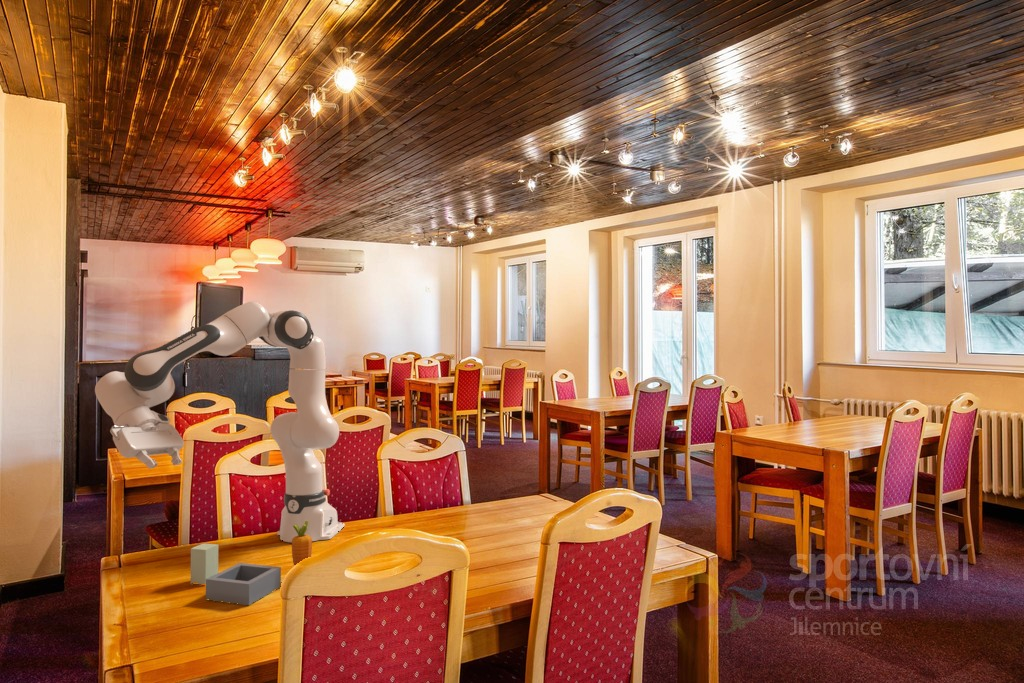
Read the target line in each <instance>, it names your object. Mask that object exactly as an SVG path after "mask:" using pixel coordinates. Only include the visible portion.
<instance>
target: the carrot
mask: <svg viewBox="0 0 1024 683" xmlns="http://www.w3.org/2000/svg"><path fill="white" fill-rule="evenodd" d="M307 526H308V521H307V520H306V521H305V524H303V526H302V528H300V529H299V526H298V525H297V524H296V525H293V527H294V529H295V530H296V532H297V534H298V535H297V536H295V537H294V538H293V539H292V542H291V553H292V554H291V555H292V562H293V563H292V564H293V566H294V565H296V564H297V563H299V562H300V561H302V560H303V559H305V558H308V557H311V558H312V551H313V550H312V547H313V541H312V538H311V537H310V536H309V535H307V534H305V532H306V530H307V529H308V528H307Z"/></svg>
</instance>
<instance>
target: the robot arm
mask: <svg viewBox="0 0 1024 683" xmlns="http://www.w3.org/2000/svg"><path fill="white" fill-rule="evenodd" d="M258 338H259V339H260V340H261V341H263V343H265V344H267V345H269V346H270V347H274V348H278V347H279V348H286V349H287V351H288V353H289V359H290V360H289V361H290V362H289V372H288V373H289V376H288V388H287V390H288V395H289V397H290V398H291V399H292V400H293V401H294V404H295V407H296V412H295V411H291V412H285V413H282V414H278V415H277V416H276V417H275V418H274V419H273V420H272V422H271V425H270V436H271V438H272V439H273V440H274V441H275V443H276V444H277V446H278V448H279V451H280V454H281V456H282V459H283V463H284V469H285V492H284V496H283V504H284V507H283V508H282V510H281V517H280V518H281V519H280V526H279V530H277V534H276V535H277V536H278V535H280V536H279V539H280V540H281V541H282V540H283V541H282V542H286V543H292V539H293V538H294V537H295V536H297V535H298V534H297V532H296V530H295V529H294V527H293V525H296V524H297V525H298V526H299V529H300V528H302V526H303V524H305V521H306V520H307V521H308V526H307V528H308V529H307V530H306V532H305V534H307V535H309V536H310V537H311V538H312V542H316V541H325V540H330V539H332V538H333V537H335V536H336V535H337V534H338V533H339V532H340V531H342V530H343V529H344V528H345V527H346V525H345V523H344V522H341V521H338V511H337V509H336V508H335V507H333V506H332V505H331V504H330V503H328V501H326V500H327V498H326V496H330V494H331V490H330V489H328V488H327V489H325V488H323V466H322V465H323V464H322V463H321V462H320V461H319V460H318V458H317V457H316V455H315V453H314V451H317V450H325V449H330V448H331V447H333V446H335V444H336V443H337V441H338V439H339V436H340V427H339V424H338V422H337V420H335V418H334V416H332V414H331V411H330V409H329V406H328V402H327V396H326V372H327V371H326V369H327V358H326V348H325V343H324V340H323V339H322V338H320V337H319V336H318V335H314V331H313V329H312V326H311V323H310V321H309V319H308V318H307V316H306V315H305V314H303V313H302V312H299V311H297V310H281V311H277V312H273V313H270V312H269V311H268V310H267V308H266V307H264V305H262V304H260V303H259V302H257V301H247V302H245V303H243V304H241V305H238V306H236V307H234V308H232V309H230V310H228V311H226V312H225V313H224V314H222V315H220V316H219V317H217V318H216V319H214V320H212V321H210V322H208V323H206V324H203V325H200V326H197V327H195V328H193V329H191V330H189V331H188V332H185V333H184V334H181V335H180V336H178V337H175V338H174V339H172V340H171V341H168V342H167V343H164V344H163V345H161V346H159V347H156V348H152V349H148V350H145V351H141V352H139V353H137V354H134V355H133V356H131V358H130V359H128V360H127V362H126V365H125V366H124V371H123V372H122V371H117V370H115V371H111V372H108V373H106V374H105V375H103V376H102V377H101V378H100V379H98V381H97V382H96V384H95V386H94V387H95V388H94V394H95V396H96V398H97V400H98V402H99V404H100V405H101V408H102V409H103V410H104V412H105V414H106V415H108V416H109V417H111V419H112V422H113V424H114V425H112V426H111V428H110V430H109V432H110V434H111V435H112V441H113V443H114V445H115V447H116V449H117V451H118V453H119V454H120V455H121V456H122V457H124V458H126V459H129V458H136V459H137V460H138V461H140V462H141V463H142V464H144V465H145V466H146V467H147V468H148V469H154V468H155V467H157V466H158V462H157V461H156V460H155V458H152V457H150V456H158V455H168V456H171V460H170V463H172V465H173V466H179V465H180V464H181V463H182V462H183V459H181V457H180V451H181V449H182V448H183V447H184V446H185V442H184V439H183V437H182V435H181V434H180V433H179V431H178V430H177V429H176V427H175V426H174V425H172V424H170V423H171V418H169V417H168V415H164V414H162V413H161V414H160V413H158V412H156V411H154V410H151V408H153V407H155V406H158V405H160V404H162V403H165V402H167V401H169V400H170V398H171V397H172V396H173V395H174V394H175V391H176V390H175V389H176V384H175V381H174V378H173V376H172V374H171V372H172V370H173V369H174V368H175V367H176V366H178V365H180V364H181V363H183V362H185V361H187V360H188V359H190V358H191V357H194V356H195V355H197V354H199V353H202V352H210V353H212V354H214V355H217V356H222V357H227V356H230V355H233V354H235V353H237V352H239V351H240V350H241V349H243V348H244V347H246V346H247V345H248V344H250V343H251V342H253V341H254V340H256V339H258ZM342 523H343V524H342ZM344 526H345V527H344ZM343 527H344V528H343ZM342 528H343V529H342ZM341 529H342V530H341ZM338 531H339V532H338Z"/></svg>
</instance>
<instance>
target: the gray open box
mask: <svg viewBox="0 0 1024 683" xmlns="http://www.w3.org/2000/svg"><path fill="white" fill-rule="evenodd" d="M281 576H282V567H281V566H273V565H265V564H264V565H263V564H255V563H254V564H253V563H244V562H238V563H237V564H234V565H232V566H231V567H229V568H226V569H224V570H222V571H219V572H218V574H216V575H213V576H211V577H209V578H207V579H206V586H205V600H206V599H209V600H215V601H223V602H230V603H238V604H244V605H243V606H246V605H250V604H251V605H253V604H254V603H253V602H255V601H257V600H258V601H260V600H261V599H260V598H262V597H263V598H265V597H267V596H268V595H270V594H271V593H270V592H272V591H274V590H275V589H277V588H279V589H280V588H281V587H280V584H281V585H282V583H281V581H282V577H281ZM277 590H278V589H277ZM275 591H276V590H275ZM275 591H274V592H275ZM269 593H270V594H269ZM272 593H273V592H272ZM267 594H268V595H267ZM266 595H267V596H266ZM264 596H265V597H264ZM263 598H262V599H263ZM259 599H260V600H259ZM215 601H214V602H215ZM258 601H257V602H258ZM230 603H229V604H230ZM252 603H253V604H252ZM255 603H256V602H255ZM238 604H237V605H238ZM251 605H250V606H251Z"/></svg>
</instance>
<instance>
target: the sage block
mask: <svg viewBox="0 0 1024 683" xmlns="http://www.w3.org/2000/svg"><path fill="white" fill-rule="evenodd" d="M218 573H219V544H215V543H201V544H199V545H196V546H194V547H192V548H190V584H191V583H198V584H206V579H207V578H209V577H211V576H213V575H216V574H218Z"/></svg>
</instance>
